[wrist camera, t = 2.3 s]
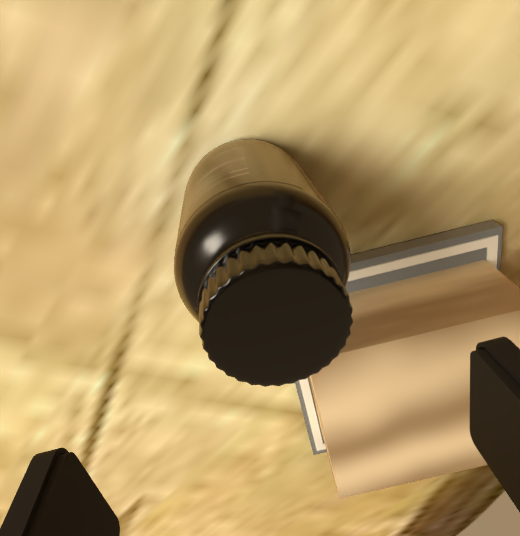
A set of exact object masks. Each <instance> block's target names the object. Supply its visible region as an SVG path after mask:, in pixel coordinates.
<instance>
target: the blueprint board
mask: <svg viewBox="0 0 520 536" xmlns="http://www.w3.org/2000/svg"><path fill="white" fill-rule="evenodd" d="M502 232H503V226H502V225H500V224H499V223H497V222H496V221H494V220H490V221H486V222H482V223H478V224H474V225H470V226H466V227H462V228H458V229H453V230H449V231H445V232H441V233H437V234H433V235H429V236H425V237H421V238H417V239H413V240H409V241H405V242H401V243H397V244H393V245H389V246H385V247H381V248H377V249H373V250H369V251H365V252H361V253H357V254H353V255H350V257H351V263H350V273H349V277H348V281H347V284H346V287H345V288H346V290H347V292H348V293H351V292H355V291H359V290H363V289H368V288H372V287H376V286H380V285H384V284H388V283H392V282H396V281H400V280H404V279H408V278H412V277H416V276H420V275H424V274H429V273H433V272H437V271H441V270H445V269H449V268H453V267H457V266H461V265H465V264H469V263H473V262H477V261H481V260H486V261H487V262H488V263H490V264H491V265H492V266H493V267H495V268H496V269H497V270H498V271H500V265H501V249H502ZM295 384H296V388H297V392H298V396H299V399H300V403H301V407H302V411H303V415H304V419H305V423H306V427H307V430H308V434H309V438H310V442H311V446H312V450H313V454H314V455H316V454H320V453H324V452H327V450H326V446H325V443H324V439H323V435H322V431H321V427H320V423H319V418H318V414H317V410H316V406H315V401H314V397H313V393H312V388H311V384H310V380H309V377H308V378H307V379H303V380H298V381H296V382H295Z"/></svg>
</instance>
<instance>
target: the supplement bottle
mask: <svg viewBox="0 0 520 536" xmlns="http://www.w3.org/2000/svg"><path fill="white" fill-rule="evenodd" d="M350 263H351V257H350V248H349V243H348V239H347V236H346V233H345V231H344V229H343V227H342V225H341V223H340V221H339V220H338V218H337V216H336V215H335V213H334V212H333V210H332V209H331V208H330V206H329V205H328V204H327V202H326V201H325V199H324V198H323V197H322V195H321V194H320V193H319V191H318V190H317V188H316V187H315V186H314V184H313V183H312V182H311V180H310V179H309V177H308V176H307V175H306V173H305V172H304V171H303V169H302V168H301V167H300V165H299V164H298V163H297V162H296V161H295V160H294V159H293V157H292V156H290V155H289V154H288V153H287V152H285V151H284V150H283V149H281V148H279V147H278V146H276V145H273V144H271V143H268V142H265V141H261V140H254V139H243V140H236V141H231V142H228V143H225V144H223V145H220V146H218V147H217V148H215V149H213V150H212V151H210V152H209V153H208V154H207V155H205V156H204V157H203V158H202V159H201V160H200V162H199V163H198V164H197V165H196V167H195V168H194V170H193V172H192V174H191V176H190V178H189V180H188V183H187V187H186V191H185V195H184V201H183V207H182V213H181V219H180V225H179V231H178V237H177V243H176V250H175V258H174V274H175V281H176V286H177V289H178V292H179V295H180V297H181V299H182V301H183V303H184V305H185V306H186V308H187V309H188V311H189V312H190V313H191V315H192V316H193V317H194V318H195V319H196V320H197V321H198V322H199V334H200V337H201V339H202V346H203V349H204V350H205V351H206V352H207V353H208V357H209V359H210V360H211V361H213V362H214V363H215V364H216V367H217V368H218V369H220V370H223V371H224V372H225V373H226V375H227V376H231V377H235V378H236V379H237V380H238V381H241V382H247V383H249V384H251V385H262V386H265V387H266V386H270V385H275V386H280V385H283V384H291V383H295V382H296V381H298V380H303V379H307V378H308V377H309V376H311V375H313V374H316V373H318V372H319V371H320V370H321V369H322V368H324V367H326V366H328V365H329V364H330V363H331V361H332V360H333V359H334V358H336V357H337V356H338V355H339V353H340V350H341V349H342V348H343V347H344V346H345V345H346V339H347V338H348V337H349V336H350V334H351V330H350V327H351V325H352V323H353V319H352V316H351V315H352V311H353V308H352V305H351V303H350V301H349V294H348V292H347V290H346V288H345V287H346V284H347V281H348V277H349V273H350Z"/></svg>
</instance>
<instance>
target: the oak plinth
mask: <svg viewBox="0 0 520 536" xmlns="http://www.w3.org/2000/svg"><path fill="white" fill-rule="evenodd" d="M348 294H349V301H350V303H351V305H352V308H353V311H352V315H351V316H352V319H353V323H352V325H351V327H350V330H351V334H350V336H349V337H348V338H347V339H346V345H345V346H344V347H343V348H342V349H341V350H340V353H339V355H338V356H337V357H336V358H334V359H333V360H332V361H331V363H330V364H329V365H328V366H326V367H324V368H322V369H321V370H320V371H319V372H318V373H316V374H313V375H311V376H309V380H310V384H311V388H312V393H313V397H314V401H315V406H316V410H317V414H318V418H319V423H320V427H321V431H322V435H323V439H324V443H325V446H326V450H327V454H328V457H329V461H330V465H331V469H332V472H333V476H334V480H335V483H336V487H337V491H338V494H339V498H340V499H341V498H345V497H350V496H354V495H358V494H363V493H367V492H371V491H376V490H380V489H384V488H389V487H393V486H397V485H402V484H406V483H410V482H415V481H419V480H423V479H428V478H432V477H436V476H440V475H445V474H449V473H453V472H458V471H462V470H466V469H471V468H475V467H479V466H484V465H488V464H487V463H486V461H485V460H484V458H483V457H482V456H481V454H480V453H479V451H478V450H477V448H476V446H475V445H474V443H473V441H472V438H471V435H470V353H471V352H472V351H475V350H476V345H477V344H478V343H480V342H484V341H488V340H491V339H495V338H499V337H503V336H504V337H507V338H508V339H510V340H511V341H512V342H513V343H514V344H515V345H516V346H517V347H518V348H519V349H520V287H519V286H517V285H516V284H515V283H514V282H512V281H511V280H510V279H508V278H507V277H506V276H505V275H503V274H502V273H501V272H500V271H498V270H497V269H496V268H495V267H493V266H492V265H491V264H490V263H488V262H487V261H486V260H481V261H477V262H473V263H469V264H465V265H461V266H457V267H453V268H449V269H445V270H441V271H437V272H433V273H429V274H424V275H420V276H416V277H412V278H408V279H404V280H400V281H396V282H392V283H388V284H384V285H380V286H376V287H372V288H368V289H363V290H359V291H355V292H351V293H348Z"/></svg>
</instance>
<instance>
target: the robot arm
mask: <svg viewBox="0 0 520 536" xmlns="http://www.w3.org/2000/svg"><path fill="white" fill-rule="evenodd" d="M470 435H471V438H472V441H473V443H474V445H475V446H476V448H477V450H478V451H479V453H480V454H481V456H482V457H483V458H484V460H485V461H486V463H487V464H488V466H489V467H490V469H491V470H492V472H493V473H494V475H495V476H496V478H497V479H498V481H499V482H500V484H501V485H502V487H503V488H504V489H505V491H506V492H507V494H508V495H509V497H510V498H511V500H512V501H513V503H514V504H515V506H516V507H517V509H518V510H519V512H520V349H519V348H518V347H517V346H516V345H515V344H514V343H513V342H512V341H511V340H510V339H508V338H507V337H504V336H503V337H499V338H495V339H491V340H488V341H484V342H480V343H478V344H477V345H476V350H475V351H472V352H471V353H470ZM119 534H120V526H119V521H118V518H117V517H116V515H115V514H114V512H113V511H112V509H111V508H110V506H109V505H108V503H107V502H106V500H105V499H104V497H103V496H102V494H101V492H100V491H99V489H98V488H97V486H96V485H95V483H94V482H93V480H92V479H91V477H90V476H89V474H88V473H87V471H86V470H85V468H84V467H83V465H82V464H81V462H80V461H79V459H78V458H77V456H76V455H75V454H74V453H73V452H70V453H69V452H68V451H67V450H66V449H64V448H59V449H55V450H51V451H47V452H43V453H39V454H36V455H35V456H34V457H33V459H32V460H31V462H30V464H29V466H28V469H27V471H26V473H25V475H24V477H23V480H22V482H21V484H20V486H19V489H18V491H17V493H16V495H15V497H14V500H13V502H12V504H11V506H10V508H9V511H8V513H7V515H6V517H5V519H4V522H3V524H2V526H1V528H0V536H119Z"/></svg>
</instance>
